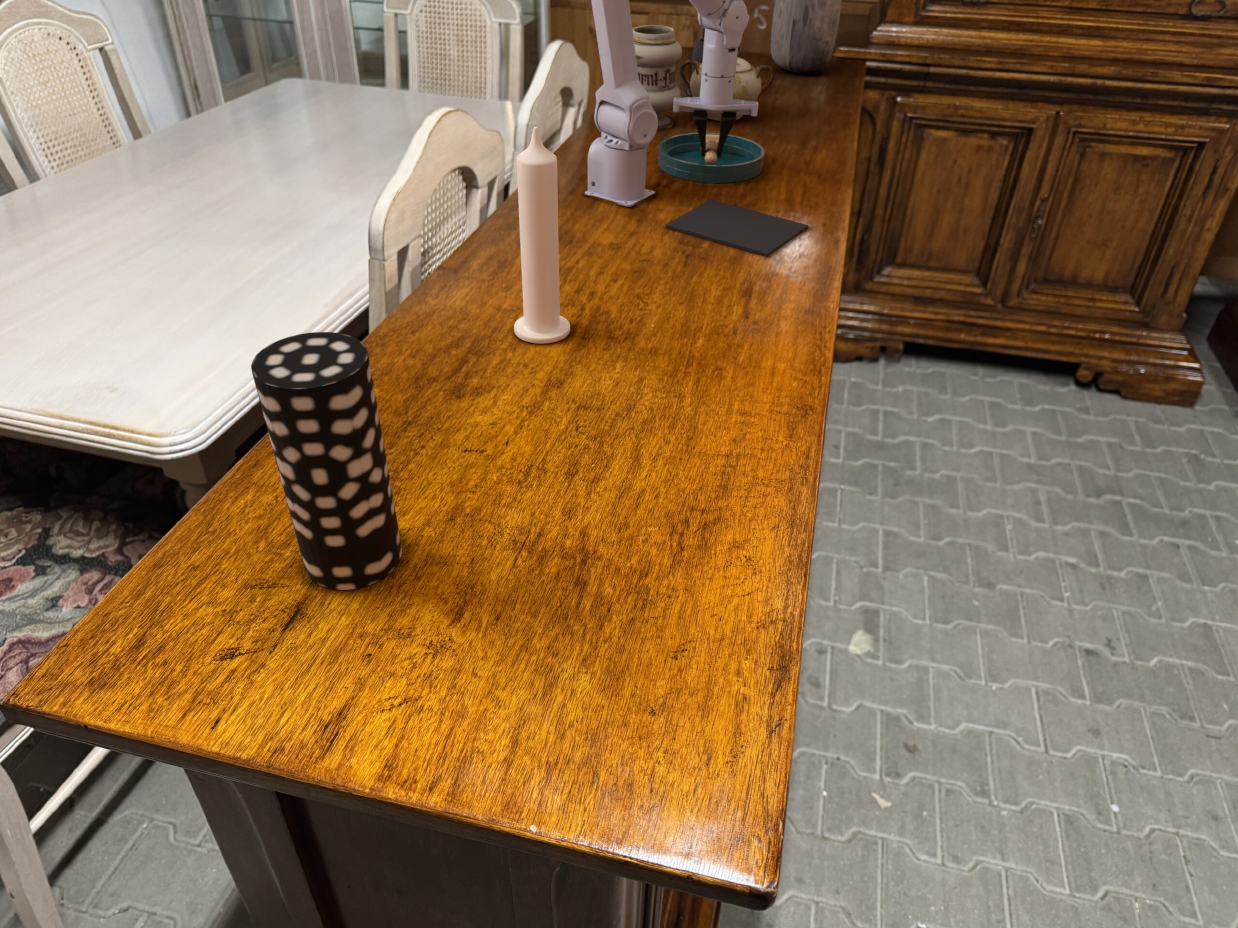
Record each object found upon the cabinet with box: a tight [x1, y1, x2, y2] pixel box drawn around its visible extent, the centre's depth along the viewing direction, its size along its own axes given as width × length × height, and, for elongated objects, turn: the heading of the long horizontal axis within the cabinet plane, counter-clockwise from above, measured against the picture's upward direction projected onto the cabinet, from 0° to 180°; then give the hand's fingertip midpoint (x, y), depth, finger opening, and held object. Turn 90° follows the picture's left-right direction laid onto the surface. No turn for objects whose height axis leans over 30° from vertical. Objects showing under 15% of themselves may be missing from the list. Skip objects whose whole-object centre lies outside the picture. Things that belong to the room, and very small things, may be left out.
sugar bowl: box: [679, 45, 775, 122], centre depth 184 cm, size 20×15×15 cm
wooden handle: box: [705, 134, 719, 165], centre depth 159 cm, size 14×4×2 cm, turn 175°
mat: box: [665, 199, 809, 258], centre depth 139 cm, size 18×14×1 cm
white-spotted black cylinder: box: [250, 331, 403, 591], centre depth 71 cm, size 8×8×20 cm
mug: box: [686, 37, 704, 96], centre depth 201 cm, size 12×9×11 cm
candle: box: [513, 126, 571, 345], centre depth 103 cm, size 7×7×25 cm
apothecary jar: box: [632, 24, 683, 129], centre depth 177 cm, size 12×12×18 cm
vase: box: [770, 0, 843, 74], centre depth 213 cm, size 16×16×30 cm
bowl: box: [657, 132, 766, 184], centre depth 160 cm, size 19×19×4 cm
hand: (711, 155), depth 156 cm, fingers closed on wooden handle, 2 cm apart
